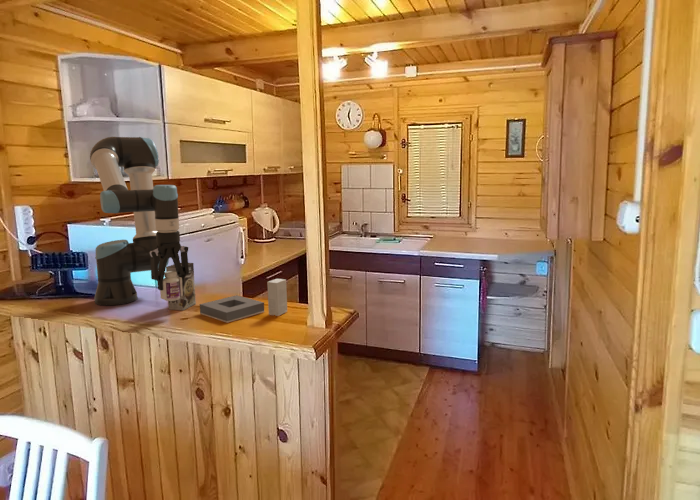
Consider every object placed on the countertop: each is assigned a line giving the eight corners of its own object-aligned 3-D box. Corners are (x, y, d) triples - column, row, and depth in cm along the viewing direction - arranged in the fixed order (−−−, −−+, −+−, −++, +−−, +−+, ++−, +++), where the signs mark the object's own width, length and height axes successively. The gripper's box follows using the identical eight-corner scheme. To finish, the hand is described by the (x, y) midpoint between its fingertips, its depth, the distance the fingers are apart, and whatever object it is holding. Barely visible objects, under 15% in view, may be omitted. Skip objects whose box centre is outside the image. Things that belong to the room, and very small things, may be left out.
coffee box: (184, 310, 179) (181, 267, 176) (168, 309, 180) (165, 266, 177) (196, 303, 188) (194, 262, 185) (181, 303, 189) (178, 261, 186)
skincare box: (277, 310, 179) (276, 278, 177) (287, 311, 177) (286, 279, 175) (267, 314, 173) (266, 281, 171) (278, 316, 171) (276, 282, 169)
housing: (200, 313, 175) (199, 304, 174) (237, 304, 187) (236, 295, 186) (227, 322, 165) (226, 312, 164) (264, 311, 177) (264, 302, 176)
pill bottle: (173, 302, 168) (171, 274, 166) (160, 300, 169) (158, 273, 167) (183, 297, 172) (181, 271, 171) (171, 296, 174) (169, 269, 172)
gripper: (147, 235, 157) (152, 304, 161) (197, 229, 171) (201, 293, 175) (135, 232, 162) (141, 300, 166) (186, 227, 176) (189, 289, 180)
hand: (171, 296), depth 171 cm, fingers closed on pill bottle, 5 cm apart
